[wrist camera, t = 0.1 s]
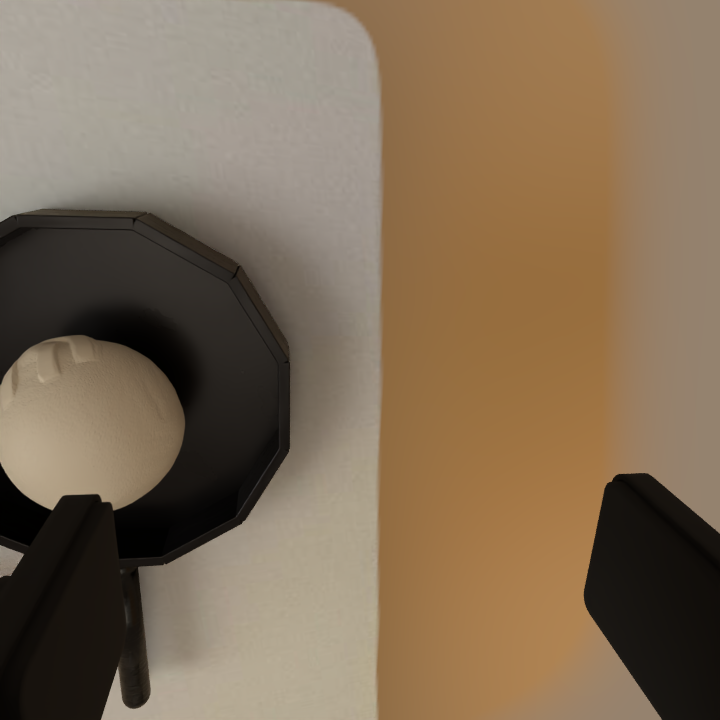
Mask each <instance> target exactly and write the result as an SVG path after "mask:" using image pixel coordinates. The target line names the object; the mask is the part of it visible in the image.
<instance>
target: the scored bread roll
mask: <svg viewBox="0 0 720 720" xmlns="http://www.w3.org/2000/svg"><path fill="white" fill-rule="evenodd" d="M184 431H185V416H184V412H183V408H182V406H181V403H180V401H179V398H178V395H177V393H176V390H175V388H174V387H173V385H172V384H171V382H170V381H169V379H168V378H167V377H166V375H165V374H164V373H163V372H162V371H161V370H160V369H159V368H158V367H157V366H156V365H155V364H154V363H153V362H152V361H151V360H150V359H148V358H147V357H145V356H144V355H142V354H141V353H139V352H137V351H135V350H133V349H131V348H129V347H127V346H124V345H121V344H117V343H112V342H107V341H99V340H95V339H93V338H90V337H88V336H85V335H71V336H64V337H58V338H52V339H48V340H45V341H43V342H41V343H39V344H37V345H34V346H32V347H30V348H29V349H27V350H26V351H25V352H24V353H23V354H22V355H21V356H20V358H19V359H18V360H17V361H15V362H14V364H13V365H12V366H11V368H10V369H9V370H8V372H7V373H6V374H5V376H4V378H3V381H2V384H1V385H0V463H1V465H2V467H3V469H4V471H5V473H6V474H7V475H8V477H9V478H10V480H11V481H12V483H13V484H14V485H15V486H16V487H17V488H18V489H19V490H20V491H21V492H22V493H23V494H24V495H26V496H27V497H28V498H30V499H31V500H33V501H35V502H36V503H38V504H39V505H42V506H44V507H46V508H48V509H51V510H53V509H54V507H55V506H56V504H57V503H58V501H59V500H60V498H61V497H62V496H64V495H82V494H98V495H100V497H101V500H102V502H111V504H112V507H113V510H116V509H120V508H122V507H125V506H127V505H129V504H131V503H133V502H134V501H136V500H137V499H139V498H141V497H142V496H143V495H145V494H146V493H148V492H149V491H150V490H152V489H153V488H154V487H155V486H156V485H157V484H158V483H159V482H160V481H161V480H162V479H163V477H164V476H165V475H166V474H167V473H168V472H169V470H170V469H171V467H172V466H173V464H174V462H175V460H176V458H177V456H178V453H179V451H180V448H181V445H182V442H183V436H184Z"/></svg>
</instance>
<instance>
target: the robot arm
mask: <svg viewBox="0 0 720 720" xmlns="http://www.w3.org/2000/svg"><path fill="white" fill-rule="evenodd" d="M584 601H585V605H586V608H587V610H588V612H589V614H590V615H591V617H592V618H593V619H594V621H595V622H596V624H597V625H598V627H599V628H600V630H601V631H602V632H603V634H604V635H605V637H606V638H607V640H608V641H609V643H610V644H611V646H612V647H613V649H614V650H615V651H616V653H617V654H618V656H619V657H620V659H621V660H622V662H623V663H624V665H625V666H626V668H627V669H628V670H629V672H630V673H631V675H632V676H633V678H634V679H635V681H636V682H637V684H638V685H639V686H640V688H641V689H642V691H643V692H644V694H645V695H646V697H647V698H648V700H649V701H650V703H651V704H652V706H653V707H654V708H655V710H656V711H657V713H658V714H659V716H660V717H661V719H662V720H720V534H719V533H718V532H717V531H716V530H715V529H713V528H712V527H711V526H710V525H709V524H708V523H706V522H705V521H704V520H703V519H702V518H701V517H699V516H698V515H697V514H696V513H695V512H693V511H692V510H691V509H690V508H689V507H688V506H686V505H685V504H684V503H683V502H682V501H680V500H679V499H678V498H677V497H676V496H674V495H673V494H672V493H671V492H670V491H669V490H668V489H666V488H665V487H664V486H663V485H662V484H660V483H659V482H658V481H657V480H656V479H654V478H653V477H652V476H651V475H649V474H646V473H636V474H618V475H616V476H615V477H614V478H613V480H612V482H609V483H607V485H606V487H605V490H604V495H603V500H602V505H601V510H600V515H599V520H598V524H597V529H596V534H595V539H594V545H593V549H592V554H591V559H590V564H589V569H588V574H587V579H586V584H585V589H584ZM126 627H127V625H126V615H125V606H124V598H123V589H122V581H121V572H120V564H119V555H118V547H117V539H116V530H115V522H114V513H113V507H112V504H111V502H102V500H101V497H100V495H98V494H82V495H64V496H62V497H61V498H60V500H59V501H58V503H57V504H56V506H55V507H54V509H53V511H52V512H51V514H50V515H49V517H48V518H47V520H46V522H45V523H44V525H43V526H42V528H41V529H40V531H39V532H38V534H37V536H36V537H35V539H34V540H33V542H32V543H31V545H30V547H29V548H28V550H27V551H26V553H25V554H24V556H23V557H22V559H21V561H20V562H19V564H18V565H17V567H16V568H15V570H14V572H13V573H12V575H11V576H3V577H1V578H0V720H101V718H102V714H103V711H104V708H105V705H106V702H107V699H108V695H109V692H110V689H111V686H112V683H113V680H114V676H115V673H116V670H117V667H118V664H119V661H120V657H121V654H122V651H123V648H124V644H125V639H126Z"/></svg>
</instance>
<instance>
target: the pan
mask: <svg viewBox="0 0 720 720" xmlns="http://www.w3.org/2000/svg"><path fill="white" fill-rule="evenodd" d="M71 335H85V336H88V337H90V338H93V339H95V340H99V341H107V342H112V343H117V344H121V345H124V346H127V347H129V348H131V349H133V350H135V351H137V352H139V353H141V354H142V355H144V356H145V357H147V358H148V359H150V360H151V361H152V362H153V363H154V364H155V365H156V366H157V367H158V368H159V369H160V370H161V371H162V372H163V373H164V374H165V375H166V377H167V378H168V379H169V381H170V382H171V384H172V385H173V387H174V388H175V390H176V393H177V395H178V398H179V401H180V403H181V406H182V408H183V412H184V416H185V431H184V436H183V442H182V445H181V448H180V451H179V453H178V456H177V458H176V460H175V462H174V464H173V466H172V467H171V469H170V470H169V472H168V473H167V474H166V475H165V476H164V477H163V479H162V480H161V481H160V482H159V483H158V484H157V485H156V486H155V487H154V488H153V489H152V490H150V491H149V492H148V493H146V494H145V495H143V496H142V497H141V498H139V499H137V500H136V501H134V502H133V503H131V504H129V505H127V506H125V507H122V508H120V509H116V510H113V513H114V522H115V530H116V539H117V547H118V555H119V564H120V572H121V581H122V589H123V598H124V606H125V615H126V625H127V627H126V639H125V644H124V648H123V651H122V654H121V657H120V661H119V664H118V669H119V677H120V685H121V693H122V700H123V702H124V704H125V705H126V706H127V707H129V708H132V709H136V708H139V707H141V706H143V705H144V704H145V703H146V702H147V700H148V699H149V696H150V692H151V688H150V679H149V669H148V660H147V650H146V641H145V631H144V622H143V612H142V602H141V593H140V583H139V574H138V567H139V566H158V565H164V563H165V564H168V563H169V562H171V561H173V560H175V559H177V558H179V557H181V556H183V555H184V554H186V553H188V552H190V551H192V550H194V549H196V548H197V547H199V546H201V545H203V544H205V543H207V542H209V541H210V540H212V539H214V538H216V537H218V536H220V535H222V534H223V533H225V532H227V531H229V530H231V529H233V528H235V527H237V526H238V525H240V524H242V523H243V521H245V520H246V518H247V517H248V515H249V514H250V512H251V510H252V509H253V507H254V506H255V504H256V503H257V501H258V499H259V498H260V496H261V495H262V493H263V492H264V490H265V489H266V487H267V485H268V484H269V482H270V481H271V479H272V478H273V476H274V474H275V473H276V471H277V470H278V468H279V467H280V465H281V463H282V462H283V460H284V459H285V457H286V456H287V454H288V452H289V449H290V358H289V346H288V342H287V341H286V339H285V337H284V336H283V334H282V332H281V331H280V329H279V327H278V326H277V324H276V323H275V321H274V319H273V318H272V316H271V314H270V313H269V311H268V310H267V308H266V306H265V305H264V303H263V301H262V300H261V298H260V296H259V295H258V293H257V292H256V290H255V288H254V287H253V285H252V283H251V282H250V280H249V278H248V277H247V275H246V274H245V272H244V270H243V269H242V267H241V266H238V263H237V262H235V261H233V260H232V259H230V258H228V257H226V256H225V255H223V254H221V253H219V252H218V251H216V250H214V249H212V248H211V247H209V246H207V245H205V244H204V243H202V242H200V241H198V240H197V239H195V238H193V237H191V236H190V235H188V234H186V233H184V232H183V231H181V230H179V229H177V228H176V227H174V226H172V225H170V224H169V223H167V222H165V221H163V220H162V219H160V218H158V217H156V216H155V215H153V214H151V213H148V214H147V212H133V211H97V210H61V209H40V210H35V211H30V212H26V213H21V214H17V215H12V216H11V217H9V218H7V219H5V220H4V221H2V222H0V385H1V384H2V381H3V378H4V376H5V374H6V373H7V372H8V370H9V369H10V368H11V366H12V365H13V364H14V362H15V361H17V360H18V359H19V358H20V356H21V355H22V354H23V353H24V352H25V351H26V350H27V349H29V348H30V347H32V346H34V345H37V344H39V343H41V342H43V341H45V340H48V339H52V338H58V337H64V336H71ZM52 511H53V510H51V509H48V508H46V507H44V506H42V505H39V504H38V503H36V502H35V501H33V500H31V499H30V498H28V497H27V496H26V495H24V494H23V493H22V492H21V491H20V490H19V489H18V488H17V487H16V486H15V485H14V484H13V483H12V481H11V480H10V478H9V477H8V475H7V474H6V473H5V471H4V469H3V467H2V465H1V463H0V545H1V546H4V547H7V548H9V549H12V550H15V551H18V552H20V553H23V554H25V553H26V551H27V550H28V548H29V547H30V545H31V543H32V542H33V540H34V539H35V537H36V536H37V534H38V532H39V531H40V529H41V528H42V526H43V525H44V523H45V522H46V520H47V518H48V517H49V515H50V514H51V512H52Z"/></svg>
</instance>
